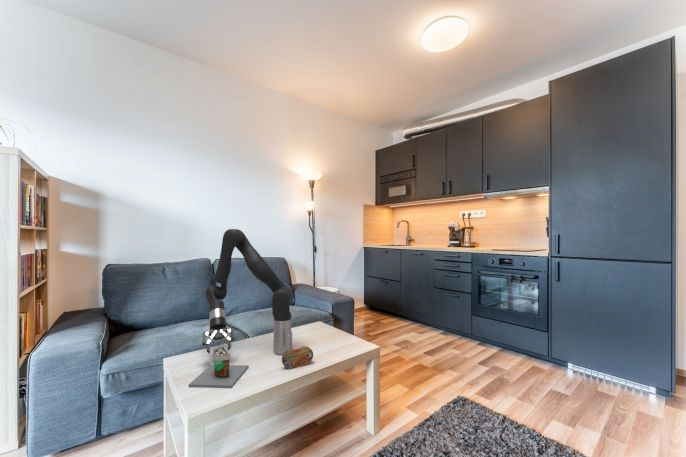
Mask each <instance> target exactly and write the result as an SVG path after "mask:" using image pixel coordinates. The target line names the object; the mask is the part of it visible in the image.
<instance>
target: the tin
mask: <svg viewBox="0 0 686 457" xmlns="http://www.w3.org/2000/svg"><path fill="white" fill-rule="evenodd" d="M281 356H282V357H281V364H282V365H283V367H284V368H286V369H287V370H291V369H296V368H300V367H304V366H308V365H309V364H310V363H311V362H312V361H313V358H314V352H313V350H312V349H311V348H310V347H309V346H305V345H304V346H303V345H302V346H299V347H294V348H293V347H292V349H289V350H287V351H285V352H284V354H283V355H281Z"/></svg>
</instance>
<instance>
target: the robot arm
mask: <svg viewBox="0 0 686 457" xmlns="http://www.w3.org/2000/svg"><path fill="white" fill-rule="evenodd" d="M221 241H222V242H221V250H220V253H219V254H220V255H219V259H218V260H219V261H218V264H217V268H216V270H215V273H214V276H213V281H214V282H215V283H218V284H220V286H218V285H209V286H208V287H207V288H206V290H205V298H206V300H207V303H208V306H209V316H208V317H209V318H208V319H209V321H208V322H209V331H203V332H202V340H201V345H202V346H205V347H206V353H208V354H210V353H211V343H212V342H213V341H217V340H222V339H223V340H224V341H225V342H227V343H226V346H227V350H228V351H230V349H231V348H232V342H234V341H235V338H236V337H235V331H234V328H233V327H230V328H227V319H226V311H225V302H224V299H225V298H227V294H228V279H229V276H230V273H231V269H232V257H233V256H232V255H233V253H234V250H235V248H236V249H237V250H238V251H239V252H240V254H241V255H242V256H243V259H244V262H245V265H246V266H247V268H248V270H249V271H250V273H252V274H253V276H254V277H255V278H256V279H257V280H259V281H260V282H262V283H263V284H265V285H266V287H268V288H269V289H270V290H271V291H272V293H273V294H272V297H271V299H272V300H271V310H272V312H271V313H272V316H273V354H275V355H279V356H280V355H281V356H283V354H284V352H285V351H287V350H289V349H293V331H292V313H291V311H290V310H291V309H290V303H291V302H292V300H293V299H294V298H293V296H294V295H293V291H292V290H291V289H290V288H289V287H288V286H287V285H286V284H285V283H284V282H283V281H282V280H281V279H280V278H279V276H277V274H276V273H275V272H274V270H273V269H272V267H270V265H269V264H268V262H267V261H266V260H265V259H264V258H263V257H262V255H261V254H260V253H259V252H258V251H257V249H255V248H254V246H253V245H252V243H251V242H250V241H249V239H248V237H247V236H246V234H245V233H244V232H243V231H242V230H241V229H238V228H228V229H226V230H225V231H224V233H223V236H222V240H221ZM228 333H229V334H230V336H228ZM208 336H209V338H208V339H207V341H206V338H207V337H208Z"/></svg>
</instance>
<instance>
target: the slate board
mask: <svg viewBox="0 0 686 457" xmlns="http://www.w3.org/2000/svg"><path fill="white" fill-rule="evenodd" d="M248 369H249V365H247V364H243V365H241V364H237V365H236V364H229V377H226V378H218V377H216V376H215V374H214V364H210V365H209V366H208V367H207V368H206V369H205V370H203V372H201V373H200V374H199V375H197V376H196V378H194V379H193V380H192V381H191V382H190V383H188V388H210V389H211V388H213V389H214V388H215V389H217V388H218V389H220V388H221V389H232V388H233V387H234V386H235V385H236V384H237V382H238V381H239V380H240V379H241V377H242V376H243V375H244V374H245V373H246V372H247V370H248Z"/></svg>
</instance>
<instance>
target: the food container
mask: <svg viewBox="0 0 686 457" xmlns="http://www.w3.org/2000/svg"><path fill="white" fill-rule="evenodd" d="M211 358H212V360H213V365H214V374H215V376H216V377H218V378H226V377H229V365H230V360H231V356H230V353H228V352H227V350H226V348H225V346H224V345H221V346H220V347H216V348H215V349H214V350H213V351H212V355H211Z"/></svg>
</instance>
